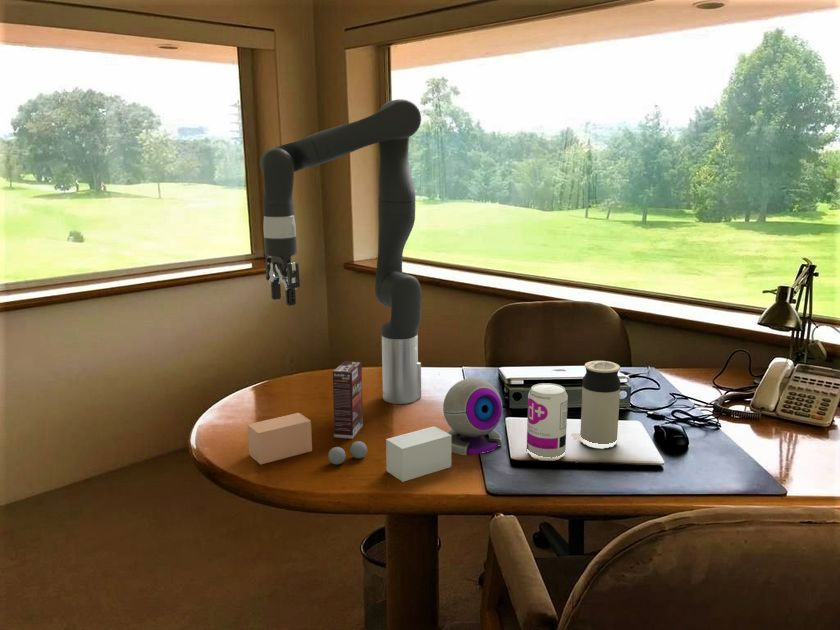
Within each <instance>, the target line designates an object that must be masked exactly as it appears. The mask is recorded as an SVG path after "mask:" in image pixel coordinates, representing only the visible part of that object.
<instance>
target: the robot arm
mask: <svg viewBox="0 0 840 630" xmlns="http://www.w3.org/2000/svg"><path fill="white" fill-rule="evenodd" d="M421 123H422V114H421V110H420V109H419V107H418V106H417V105H416V104H415V103H414V102H412V101H411V100H407V99H404V98H403V99H401V98H399V99H393V100H390V101H387V102H385V103H384V104H383V105H382V106H381V107H380V108H379V110H378V111H377V112H375V113H373V114H372V115H369V116H366V117H364V118H361V119H358V120H356V121H353V122H349V123H345V124H342V125H338V126H334V127H330V128H327V129H323V130H321V131H318V132H316V133H313V134H310V135H307V136H304V137H302V138H301V139H298V140H295V141H292V142H289V143H286V144H282V145H281V144H280V145H278V146H275V147H272V148H269V149H266V150H265V151H264V152H263V153H262V154H261V156H260V157H259V168H260V171H261V172H262V174H263V180H264V181H263V183H264V193H263V197H262V205H263V224H262V226H263V244H264V246H263V247H264V255H265V261H264V262H265V280H266V281H268V283H269V284H270V292H271V293H270V294H271V295H270V296H271V299H272V300H274V301H275V300H281V298H282V289H281V283H283V287H284V289H285V304H286V306H289V307H291V306H295V305H296V303H297V302H296V299H297V297H296V290H297V289H298V288H300V287H301V284H300V283H301V282H300V270H299V262H298V261H294V262H293V261H292V257H293V256H295V255H297V253H298V245H297V230H296V229H297V224H296V220H295V219H296V218H295V211H294V210H295V208H294V207H295V206H294V203H295V202H294V196H293V195H294V184H295V183H294V182H295V181H294V180H295V172H297V171H301V170H304V169H306V168H307V169H308V168H312V167H316V166H319V165H322V164H323V165H324V164H325V163H328V162H331V161H333V160H336V159H338V158H341V157H343V156H346V155H348V154H350V153H351V154H352V153H353V152H356V151H358V150H360V149H363V148H365V147H369V146H372V145H374V144H378V149H379V151H378V152H379V173H378V197H377V199H378V200H377V201H378V204H377V205H378V206H377V207H378V208H377V210H378V211H377V213H378V237H377V241H378V242H377V243H378V244H377V248H378V249H377V261H376V263H377V264H376V272H375V280H374V282H375V283H374V294H375V298H376V299H377V301H378V302H379V304H381V305H382V306H384V307H386V308H390V319H389V320H388V321H386V322H383V324H381V356H382V357H381V358H382V359H381V361H382V362H381V364H382V366H381V367H382V400H383V401H385V402H387V403H390V404H395V405H397V404H398V405H402V404H410V403H414V402H416V401H417V400H419V399H421V398H422V363H421V362H420V361H419V359H418V358H419V357H418V355H419V352H418V351H419V349H418V348H419V346H418V345H419V343H418V338H419V337H418V333H419V332H418V330H419V327H420V324H421V319H422V318H421V317H422V296H423V295H422V288H421V283H420V282H419V280H418V278H416V277H415V276H413V275H411V274H407V273H403V253H404V249H405V246H406V244H407V241H408V239H409V237H410V235H411V232H412V230H413V228H414V225H415V220H416V191H415V185H414V181H413V175H412V172H411V168H410V163H409V162H410V161H409V146H410V137H411V136H413V135H415V134H416V133H417V131H418V130H419V128H420V126H421Z"/></svg>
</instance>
